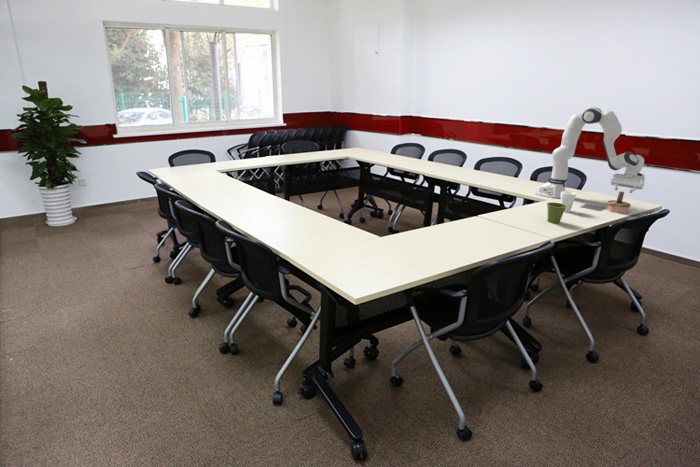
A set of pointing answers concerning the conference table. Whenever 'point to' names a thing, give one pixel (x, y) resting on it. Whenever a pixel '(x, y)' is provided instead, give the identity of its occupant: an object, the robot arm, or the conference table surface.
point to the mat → (593, 207)
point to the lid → (619, 201)
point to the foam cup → (567, 199)
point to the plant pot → (555, 211)
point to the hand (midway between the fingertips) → (623, 191)
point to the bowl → (617, 209)
